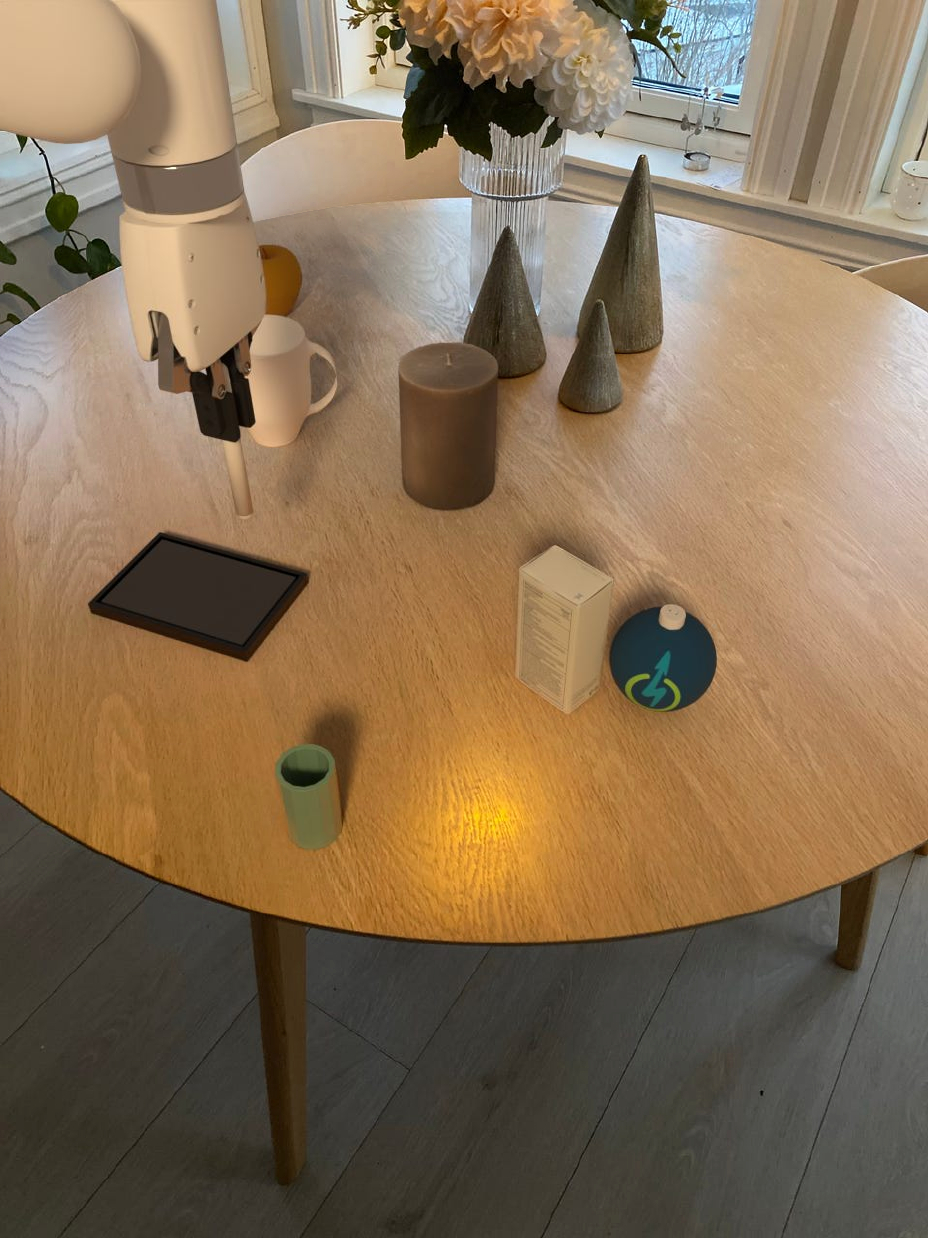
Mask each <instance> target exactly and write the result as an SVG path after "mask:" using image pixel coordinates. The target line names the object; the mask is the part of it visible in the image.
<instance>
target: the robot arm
mask: <svg viewBox="0 0 928 1238" xmlns="http://www.w3.org/2000/svg"><path fill="white" fill-rule="evenodd" d="M220 24H221V23H220V18H219V11H218V4H217V0H0V131H3V132H7V133H11V134H14V135H18V136H22V137H26V138H30V139H35V140H39V141H44V142H48V143H54V144H61V145H70V144H84V143H88V142H92V141H96V140H99V139H101V138H102V137H104V136H107V140H108V145H109V149H110V152H111V156H112V161H113V165H114V170H115V173H116V177H117V183H118V187H119V191H120V195H121V200H122V203H123V204H122V205H123V208H124V210H125V211H123V212H122V213H121V214H120V215H119V221H118V222H119V223H118V225H119V226H118V227H119V229H118V230H119V231H118V232H119V248H120V262H121V270H122V271H121V272H122V278H123V284H124V290H125V297H126V303H127V308H128V314H129V318H130V324H131V328H132V333H133V338H134V341H135V346H136V349H137V352H138V355H139V357H140V359H141V360H142V361H143V362H148V363H151V362H155V361H157V386H158V388H159V390H160V391H162V392H167V393H171V394H176V395H179V394H183V393H191V395H192V400H193V404H194V408H195V413H196V418H197V423H198V427H199V431H200V433H201V434H202V435H204V436H205V437H208V438H213V439H217V440H220V441H222V440H225V441H229V442H233V443H236V442H237V441H238V440H239V439H241V437H242V433H241V429H240V427H241V428H246V429H247V428H251V427H252V426H253V425H254V424H255V423H256V420H255V414H254V409H253V403H252V397H251V391H250V385H249V379H248V378H245V376H248V375H249V374H250V372H251V358H250V347H251V343H252V336H253V335H254V333H255V332H256V330H257V328H258V326H259V325H260V323H261V321H262V319H263V317H264V315H265V313H266V310H267V299H266V287H265V279H264V273H263V266H262V260H261V255H260V250H259V245H260V244H259V241H258V237H257V232H256V227H255V224H254V220H253V217H252V212H251V209H250V204H249V202H248V199H247V195H246V192H245V186H244V179H243V174H242V165H241V160H240V152H239V146H238V140H237V139H238V138H237V133H236V125H235V120H234V119H235V118H234V113H233V106H232V99H231V91H230V85H229V79H228V71H227V64H226V57H225V52H224V51H225V49H224V45H223V44H224V43H223V38H222V30H221V25H220ZM221 363H223V364H225V365H226V367H227V369H228V373H229V378H230V384H231V389H232V393H231V392H228V391H227V388H226V383H225V378H224V374H223V369H222V365H221ZM203 370H205V373H204V372H203Z"/></svg>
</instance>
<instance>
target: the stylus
mask: <svg viewBox="0 0 928 1238" xmlns="http://www.w3.org/2000/svg"><path fill="white" fill-rule="evenodd" d="M221 365H222V369H223V374H224V378H225V383H226V388H227V391H228V392H231V393H232V389H231V384H230V378H229V373H228V369H227V367H226V365H225V364H223V363H221ZM221 444H222V449H223V454H224V459H225V465H226V471H227V475H228V479H229V484H230V489H231V494H232V495H231V496H232V499H233V504H234V505H233V506H234V509H235V514H236V516H237V517H238V518H239V519H240V520H243V521H247V520H250V519H251V518H252V517H253V515H254V505H253V501H252V499H253V498H252V495H251V489H250V488H251V487H250V484H249V477H248V473H247V467H246V461H245V456H244V450H243V445H242V440H241V438H240V439H239V440H238V441H237V442H236V443H233V442H229V441H225V440H221Z"/></svg>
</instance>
